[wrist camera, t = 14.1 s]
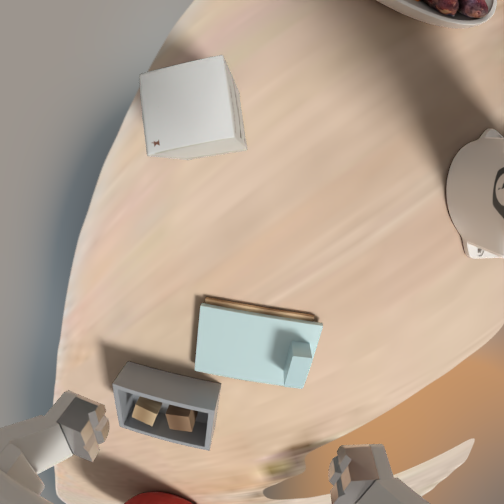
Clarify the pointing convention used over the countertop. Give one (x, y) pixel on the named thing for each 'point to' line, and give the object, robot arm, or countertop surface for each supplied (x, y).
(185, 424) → the block
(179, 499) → the mixing bowl
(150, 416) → the block
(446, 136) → the countertop surface
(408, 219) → the countertop surface
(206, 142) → the supplement box
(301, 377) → the lid
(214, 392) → the tub
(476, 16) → the bowl
